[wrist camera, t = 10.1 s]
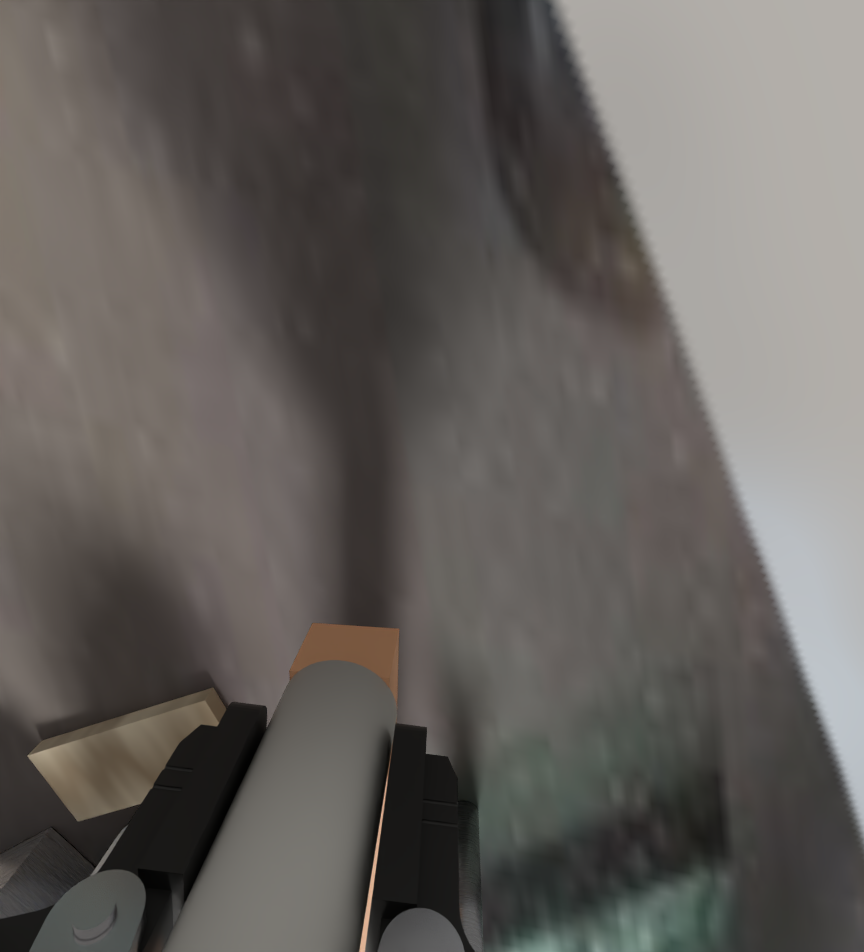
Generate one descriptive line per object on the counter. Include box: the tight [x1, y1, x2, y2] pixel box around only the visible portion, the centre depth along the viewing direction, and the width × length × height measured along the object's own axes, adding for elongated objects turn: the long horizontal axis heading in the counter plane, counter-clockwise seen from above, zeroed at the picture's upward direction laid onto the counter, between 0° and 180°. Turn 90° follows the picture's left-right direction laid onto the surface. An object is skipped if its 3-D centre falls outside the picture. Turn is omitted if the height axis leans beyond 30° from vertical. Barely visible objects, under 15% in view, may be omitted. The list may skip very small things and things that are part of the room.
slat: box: [27, 688, 226, 822], centre depth 20 cm, size 4×1×8 cm
